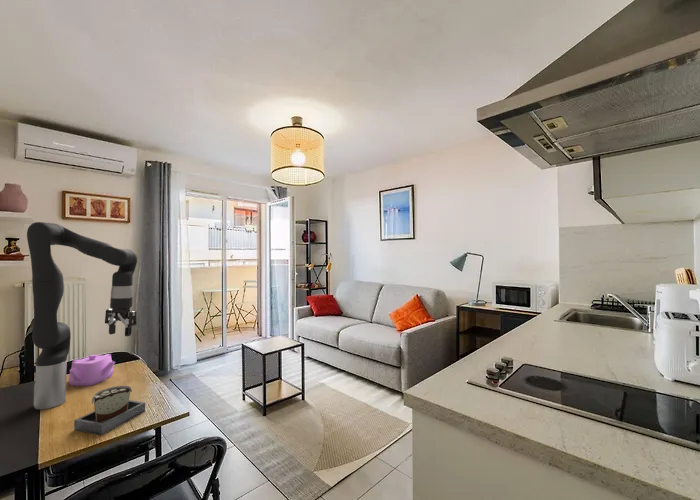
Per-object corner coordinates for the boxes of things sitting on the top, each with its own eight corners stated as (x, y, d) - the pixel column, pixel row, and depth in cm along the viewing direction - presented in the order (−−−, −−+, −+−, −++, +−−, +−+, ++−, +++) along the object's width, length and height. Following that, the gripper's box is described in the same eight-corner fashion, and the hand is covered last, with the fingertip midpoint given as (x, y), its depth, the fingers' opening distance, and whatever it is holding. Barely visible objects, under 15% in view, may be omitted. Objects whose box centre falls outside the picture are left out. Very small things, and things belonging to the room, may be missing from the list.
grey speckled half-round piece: (125, 407, 124) (126, 382, 124) (131, 412, 120) (132, 386, 120) (86, 420, 114) (87, 393, 114) (91, 426, 110) (92, 398, 111)
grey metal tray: (74, 430, 109) (74, 420, 109) (120, 407, 126) (120, 398, 126) (101, 435, 106) (101, 425, 106) (145, 411, 123) (145, 402, 123)
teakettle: (111, 371, 164) (111, 347, 164) (115, 380, 152) (116, 355, 152) (67, 379, 152) (68, 354, 153) (68, 391, 140) (69, 363, 140)
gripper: (99, 296, 128) (97, 335, 127) (126, 298, 124) (124, 338, 124) (117, 294, 135) (115, 331, 135) (143, 296, 131) (141, 334, 131)
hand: (119, 335), depth 129 cm, fingers open, 8 cm apart
